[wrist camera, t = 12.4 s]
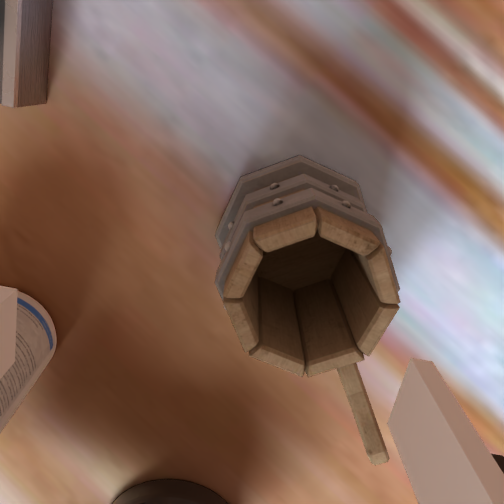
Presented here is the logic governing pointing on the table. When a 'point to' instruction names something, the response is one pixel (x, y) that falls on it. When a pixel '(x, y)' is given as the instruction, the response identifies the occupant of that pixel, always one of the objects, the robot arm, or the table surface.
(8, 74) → the stand
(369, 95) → the table surface
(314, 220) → the tankard
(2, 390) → the supplement tub
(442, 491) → the robot arm
